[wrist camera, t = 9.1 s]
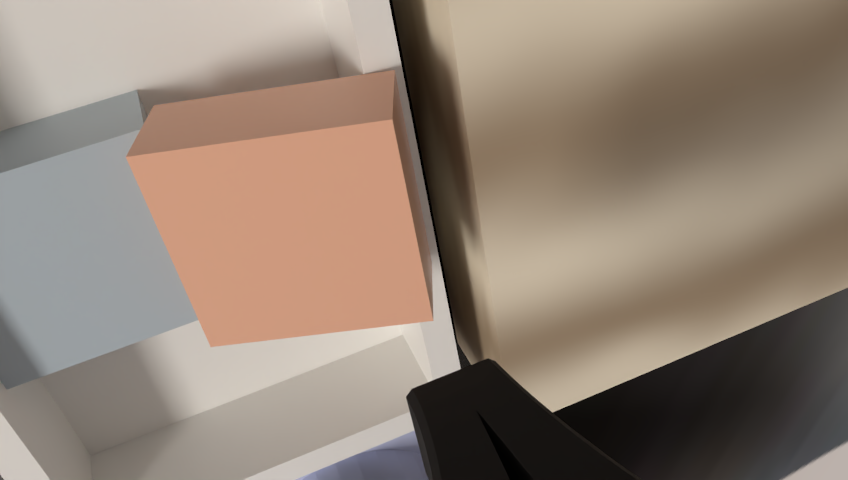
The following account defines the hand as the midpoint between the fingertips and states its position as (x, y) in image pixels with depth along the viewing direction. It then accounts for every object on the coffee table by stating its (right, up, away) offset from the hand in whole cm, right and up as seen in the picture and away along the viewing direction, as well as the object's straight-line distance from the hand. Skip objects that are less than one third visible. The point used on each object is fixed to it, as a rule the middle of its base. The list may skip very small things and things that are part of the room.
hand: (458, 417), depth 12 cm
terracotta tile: (-3, +4, +6) cm, 8 cm away
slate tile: (-8, +2, +5) cm, 10 cm away
